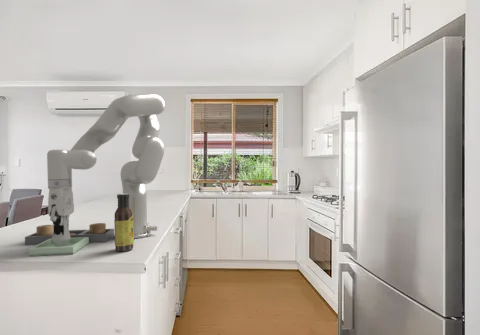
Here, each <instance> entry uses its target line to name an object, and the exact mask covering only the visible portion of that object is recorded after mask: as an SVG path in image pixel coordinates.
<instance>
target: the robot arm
mask: <svg viewBox="0 0 480 335" xmlns="http://www.w3.org/2000/svg"><path fill="white" fill-rule="evenodd" d="M165 108H166V102H165V100H164V98H163V97H161V95H159V94H155V93H150V94H147V93H146V94H130V95H123V96H121V97H117V98H115V99H114V100H113V101H111V103H110V104H109V105H108V106H107V108H106V109H105V110H104V111H103V112H102V114H101V115H100V116H99V117H98V119H97V120H96V121H95V123H94V124H93V125H91V127H90V128H88V130H87V131H86V132H85V133H84V134H83V135H82V136H81V137H80V138H79V139H78V140H77V141H76V142H75V144H74V145H73V146H72V147H71V149H70V150H68V149H50V150H48V151H47V153H46V161H47V162H46V164H47V165H46V166H47V189H48V199H47V200H48V202H47V204H48V205H47V208H48V211H47V212H48V216H49V217H50V218H49V220H50V221H51V222H52V225H53V226H54V234H56V235H59V234H61V233H62V234H63V236H64V225H62V224H63V217H64V216H66V219H67V223H68V228H69V227H70V226H69V225H70V224H69V223H70V215H72V214H73V213H74V212H75V206H74V203H75V202H74V193H73V189H72V188H73V173H72V172H73V171H72V170H81V171H82V170H89V169H92V168H93V167H95V165H96V163H97V155H96V154H95V151H97V149H99V148H100V147H102V146H103V145H104V144H106V143H108V142H109V141H111V140H112V139H114V138H115V136H116V135H117V133H118V132H119V131H120V130H121V128H122V126H123V125H124V124H125V123H126V121H127V120H128V119H129V118H134V117H137V118H138V119H139V128H138V132H137V135H136V137H135V140H134V141H133V145H132V148H131V154H132V155H133V157H134V158H136V159H138V160H133V161H127V162H125V163H124V164H123V165H122V167H121V170H120V181H121V186H122V194H129V208H130V209H131V210H132V213H133V231H134V232H133V233H134V239H140V238H145V237H149V236H150V235H152V232H157V231H158V225H150V224H149V222H148V212H147V209H148V206H147V205H148V204H147V200H148V199H147V198H148V197H147V196H148V195H147V188H146V185H147V184H151V183H152V182H153V181H154V180H155V179H156V177H157V174H158V172H159V170H160V166H161V164H162V160H163V157H164V155H165V145H164V142H163V141H162V140H161V139H160V138H159V135H160V130H161V125H160V122H159V119H158V117H157V115H160V114H162V113H163V112H164V110H165ZM56 215H59V216H56ZM57 218H60V220H59V219H57ZM69 229H70V228H69Z"/></svg>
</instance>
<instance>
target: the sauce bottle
mask: <svg viewBox="0 0 480 335" xmlns="http://www.w3.org/2000/svg"><path fill="white" fill-rule="evenodd" d="M116 198H117V208H116V210H115V212H114V222H113V223H114V246H115V251H116V252H121V253H122V252H127V251H131V250H133V248H134V243H135V242H134V241H135V240H134V239H135V238H134V233H133V232H134V231H133V213H132V210H131V209H130V208H129V194H123V193H117V194H116Z"/></svg>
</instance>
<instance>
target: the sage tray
mask: <svg viewBox="0 0 480 335" xmlns="http://www.w3.org/2000/svg"><path fill="white" fill-rule="evenodd" d="M89 244H90V242H89V237H78V238H70V241H69V243H68V245H66V246H60V247H57V246H55V245H54V243H53V241H52V238H51V239H48V240H46V241H44V242H42V243H40V244H35V245H33V246H32V247H29V248H28V249H29V250H28V255H29V257H40V256H62V255H63V256H65V255H67V256H68V255H75V254H76V253H78V252H79V251H80V250H83V248H85V247H86V246H88V245H89Z"/></svg>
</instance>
